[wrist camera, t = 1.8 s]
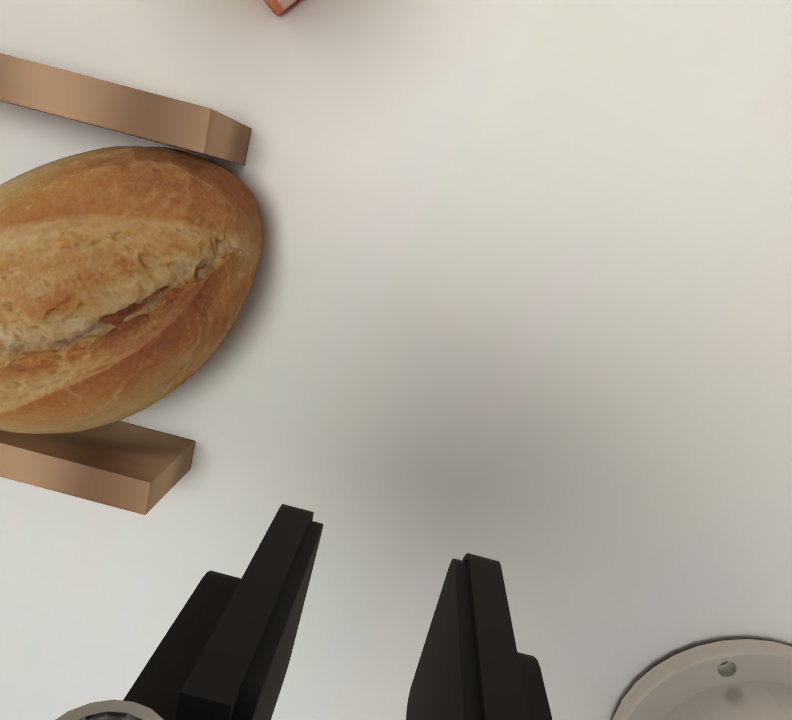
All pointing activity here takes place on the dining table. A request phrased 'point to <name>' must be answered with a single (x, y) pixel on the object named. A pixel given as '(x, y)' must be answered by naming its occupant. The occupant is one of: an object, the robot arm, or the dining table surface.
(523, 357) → the dining table surface
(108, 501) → the channel
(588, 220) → the dining table surface
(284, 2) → the cracker box
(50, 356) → the bread roll
